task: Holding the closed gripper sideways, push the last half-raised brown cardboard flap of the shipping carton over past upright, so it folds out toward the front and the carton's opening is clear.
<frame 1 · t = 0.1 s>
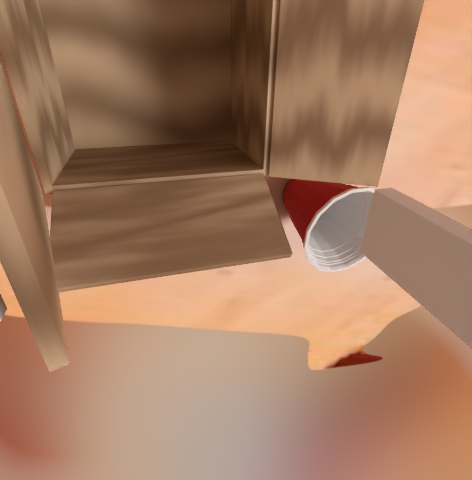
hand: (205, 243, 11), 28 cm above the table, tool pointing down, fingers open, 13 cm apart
shipping carton: (145, 39, 30), on the table
plastic cup: (301, 194, 44), on the table
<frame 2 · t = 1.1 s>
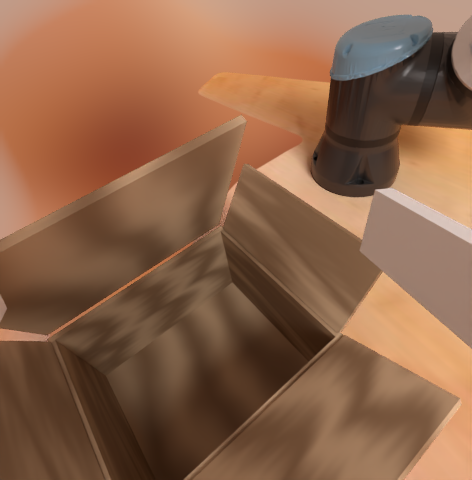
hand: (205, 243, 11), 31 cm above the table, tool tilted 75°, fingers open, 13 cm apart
carton flap: (126, 244, 25), point 20 cm above the table, hinge at 65.2°
shipping carton: (211, 378, 38), on the table
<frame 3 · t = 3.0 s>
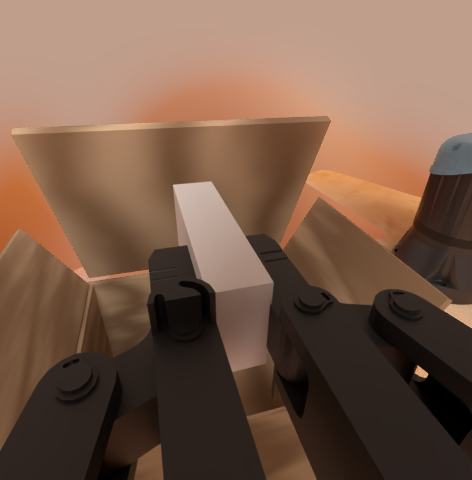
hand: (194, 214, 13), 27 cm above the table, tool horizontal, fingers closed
carton flap: (189, 209, 27), point 20 cm above the table, hinge at 65.2°
shipping carton: (209, 407, 33), on the table
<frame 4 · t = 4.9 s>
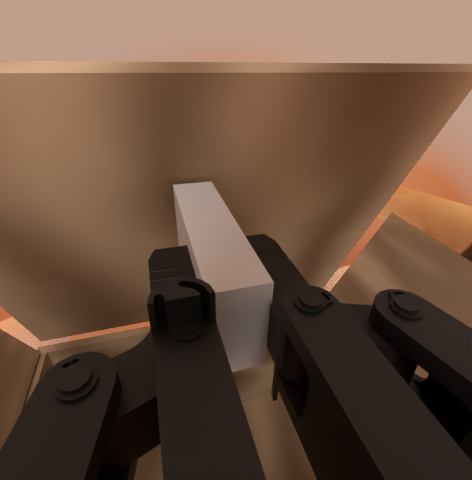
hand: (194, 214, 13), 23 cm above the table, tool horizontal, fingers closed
carton flap: (199, 238, 16), point 20 cm above the table, hinge at 66.0°, touching gripper
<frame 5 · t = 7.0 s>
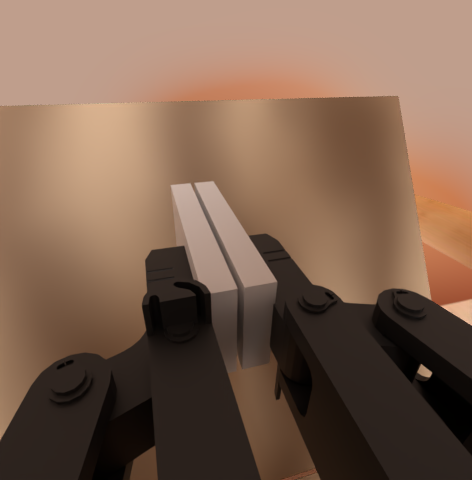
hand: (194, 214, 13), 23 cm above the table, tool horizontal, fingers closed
carton flap: (233, 288, 14), point 19 cm above the table, hinge at 123.8°, touching gripper
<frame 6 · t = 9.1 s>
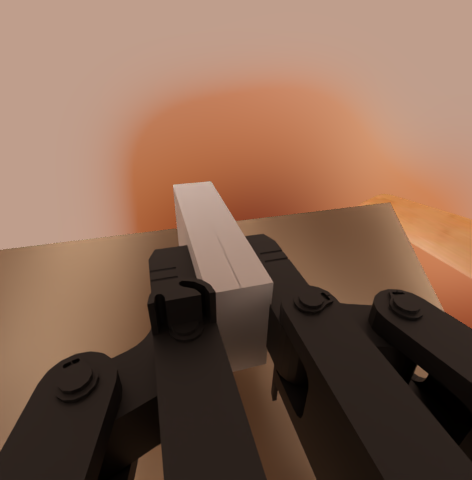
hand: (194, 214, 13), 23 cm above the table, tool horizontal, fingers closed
carton flap: (237, 449, 11), point 17 cm above the table, hinge at 146.3°, touching gripper
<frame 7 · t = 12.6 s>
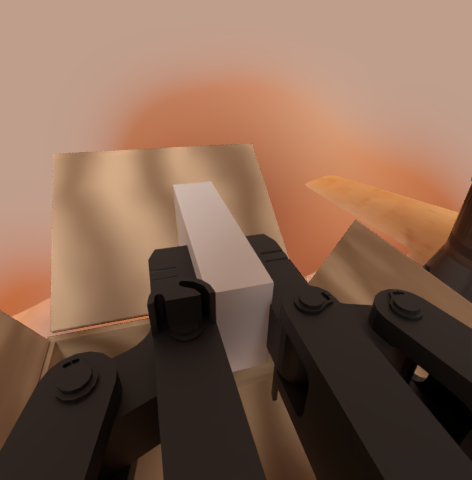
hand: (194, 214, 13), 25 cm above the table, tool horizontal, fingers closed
carton flap: (171, 219, 30), point 17 cm above the table, hinge at 146.3°
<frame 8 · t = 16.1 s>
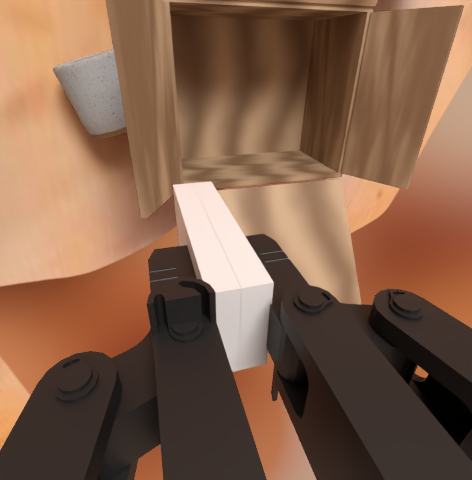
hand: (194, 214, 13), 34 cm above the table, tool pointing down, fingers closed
carton flap: (276, 256, 38), point 17 cm above the table, hinge at 146.3°
shipping carton: (238, 92, 43), on the table
ceramic mug: (115, 85, 39), on the table
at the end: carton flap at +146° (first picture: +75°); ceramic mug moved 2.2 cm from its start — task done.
